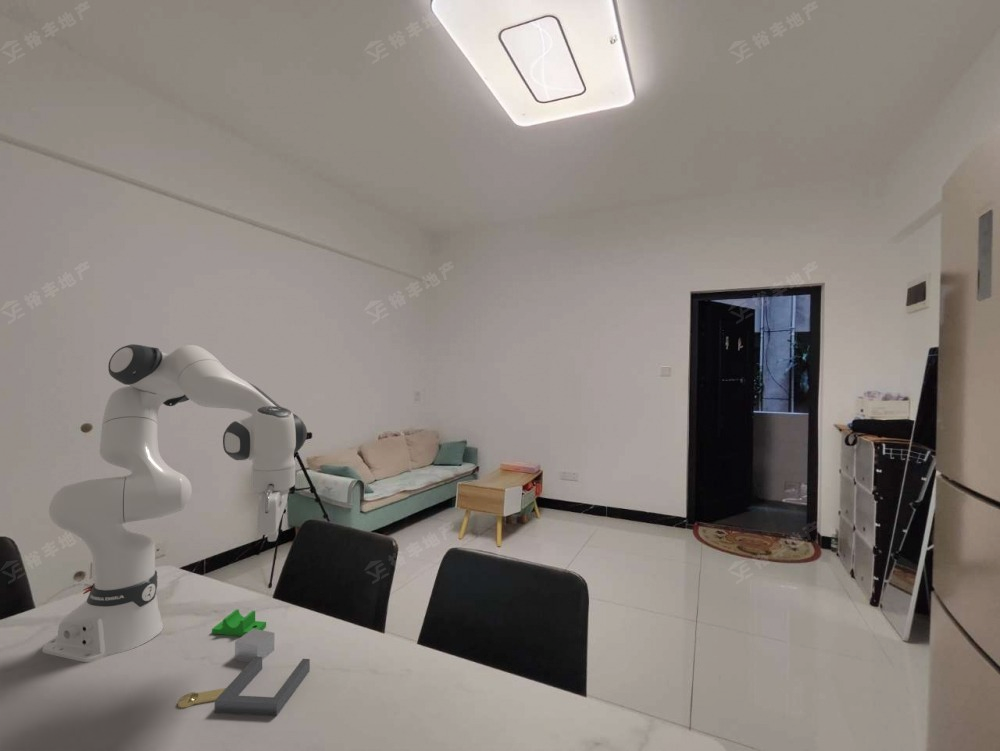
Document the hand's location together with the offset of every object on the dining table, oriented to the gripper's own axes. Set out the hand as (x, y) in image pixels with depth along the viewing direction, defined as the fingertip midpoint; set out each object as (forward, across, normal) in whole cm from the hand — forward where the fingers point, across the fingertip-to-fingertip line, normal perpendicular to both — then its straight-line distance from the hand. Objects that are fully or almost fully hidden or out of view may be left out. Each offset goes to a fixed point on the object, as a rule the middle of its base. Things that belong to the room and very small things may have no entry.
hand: (272, 538), depth 98 cm
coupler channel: (+26, -12, -1) cm, 29 cm away
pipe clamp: (+24, +16, +9) cm, 30 cm away
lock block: (+27, 0, +3) cm, 27 cm away
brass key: (+26, -12, +10) cm, 30 cm away
